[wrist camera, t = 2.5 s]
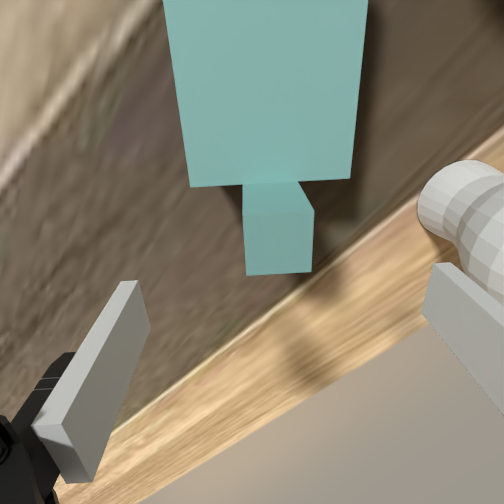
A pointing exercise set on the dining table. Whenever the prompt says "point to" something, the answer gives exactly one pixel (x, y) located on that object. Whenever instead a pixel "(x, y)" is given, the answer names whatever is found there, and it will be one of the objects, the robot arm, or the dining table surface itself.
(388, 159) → the dining table surface
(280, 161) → the lid
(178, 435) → the dining table surface
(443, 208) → the cup
